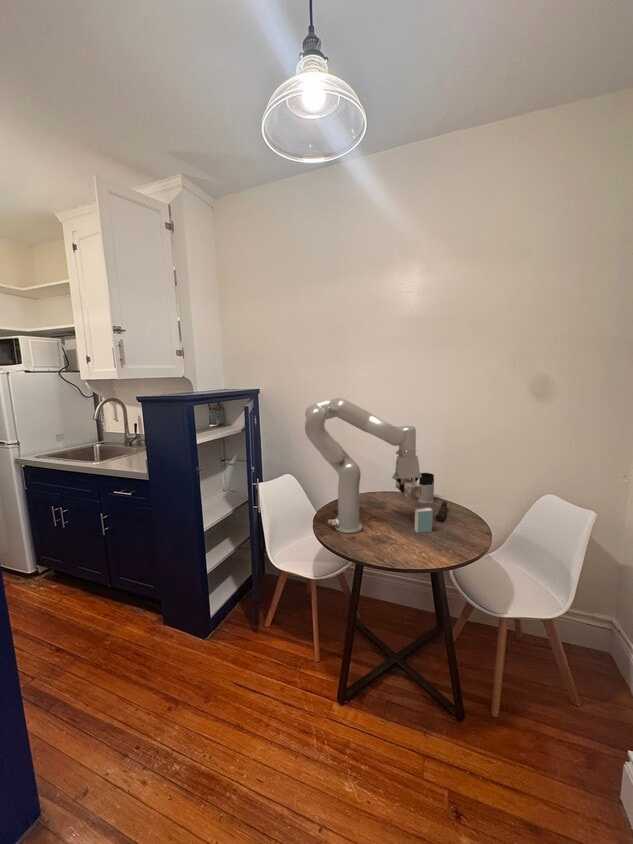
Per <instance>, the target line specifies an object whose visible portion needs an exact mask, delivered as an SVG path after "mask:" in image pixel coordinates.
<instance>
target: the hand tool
mask: <svg viewBox="0 0 633 844" xmlns="http://www.w3.org/2000/svg"><path fill="white" fill-rule="evenodd" d="M447 510H448V502H447V501H445V500H444V501H442V503H441V505H440V508H439V510H438V512H437V514H436V515H435V516H434V517H435V519H434V520H435V522H439V523H443V522H444V521H445V517H446V513H447Z"/></svg>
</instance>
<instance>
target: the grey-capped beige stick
mask: <svg viewBox="0 0 633 844" xmlns="http://www.w3.org/2000/svg"><path fill="white" fill-rule="evenodd" d="M397 478H398V479H399V477H398V476H397ZM403 484H404V493H402V494H403V495H404V496H405V497H406V498H407V499H408V500H409V501H418V500H420V486H419V485H418V483H417V484H416V483H414V482H413V481H412V480H411V479H404V481H403ZM395 488H397V490H399V482H398V481H396V480H395Z"/></svg>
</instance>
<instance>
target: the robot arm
mask: <svg viewBox="0 0 633 844" xmlns="http://www.w3.org/2000/svg"><path fill="white" fill-rule="evenodd" d="M304 413H305V418H306V419H305V422H304V431H305V435H306V437H307V439H308V440H309V441H310V443H311V444H312V445H313V446H314V447H315V449H316V450H317V451H318V452H319V453H320V455H321V456H322V458H323V459H324V460H325V461H326V462H328V464H329V465H330V466H331V467H332V468H333V470H335V472H336V473H337V475H338V484H337V486H338V487H337V495H338V496H337V516H336V518H334V519H327V524H328V525H331V526H333V527H334V529H335V530H336V531H338V532H340V533H343V534H356V533H359V532H361V531H362V529H363V524H362V523H361V522H360V484H361V483H360V481H361V475H362V474H361V469H360V466H359V465H358V463H357V462H356V461H355V460H354V459H353V458H352V457H350V455H349V454H348V453H347V452H346V451H345V449H344V448H343V447H342V446H341V444H340V443H339V442H338V441H337V440H335V438H334V437H332V436H331V434H330V433H329V431H327V429H326V427H325V423H326V420H329V419H332V418H333V419H334V418H337V419H340V420H341V421H344V422H345V423H348V424H350V425H351V426H353V427H355V428H357V429H359V430H361V431H362V432H365V433H367V434H370V435H372V436H374V437H376V438H378V439H380V440H382V441H384V442H385V443H387V444H389V445H391V446H394V447H396V446H397V447H398V450H396V451H395V455H397V457H396V461H395V468H394V469H395V472H394V473H393V475H392V476H391V478H392V479H393V480H395V482H396V481H398V482H399V489H398V491H399V492H401V493H402V494H403V493H404V484H403V481H404V479H409V478H410V480H412V481H413V482H414V483H416V481H417V482H418V480H419V478H421V477H422V475H421V474H420V473H421V472H420V471H421V470H420V463H419V462H420V461H419V457H418V455H417V454H416V453H417V450H416V449H417V429H416V427H415V426H412V425H403V426H402V425H401V426H395V425H393V424H390V423H388V422H386V421H384V420H383V419H382V418H379V417H378V416H376V415H374V414H373V413H371V412H369V411H367V410H365V409H363V408H362V407H360V406H358V405H357V404H355V403H352V402H351V401H349V400H347V399H344V398H340V397H335V398H332V399H328V400H325V401H320V402H317V403H313V404H311V405H309V406H307V408H306V410H305V412H304ZM397 476H398V477H399V479H398V478H397Z"/></svg>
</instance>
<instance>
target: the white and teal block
mask: <svg viewBox="0 0 633 844" xmlns="http://www.w3.org/2000/svg"><path fill="white" fill-rule="evenodd" d="M433 513H434V511H433V509H432V508H431V507H423V508H422V507H421V508H415V509H414V532H416V533H417V534H419V533H429V532H430V533H431V532H432V531H433Z"/></svg>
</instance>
